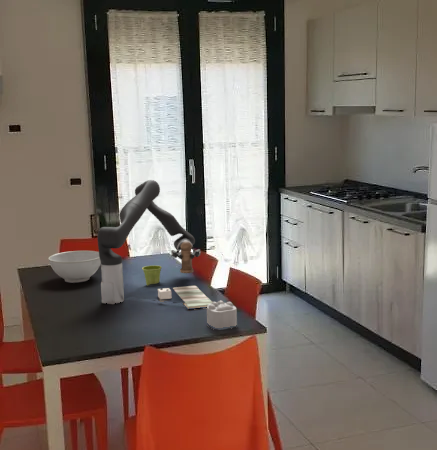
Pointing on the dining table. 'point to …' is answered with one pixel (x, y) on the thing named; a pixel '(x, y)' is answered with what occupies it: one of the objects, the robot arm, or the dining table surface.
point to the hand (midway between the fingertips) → (186, 256)
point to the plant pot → (152, 274)
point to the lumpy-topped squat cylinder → (221, 314)
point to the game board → (193, 297)
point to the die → (164, 294)
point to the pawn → (186, 258)
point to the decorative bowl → (75, 265)
